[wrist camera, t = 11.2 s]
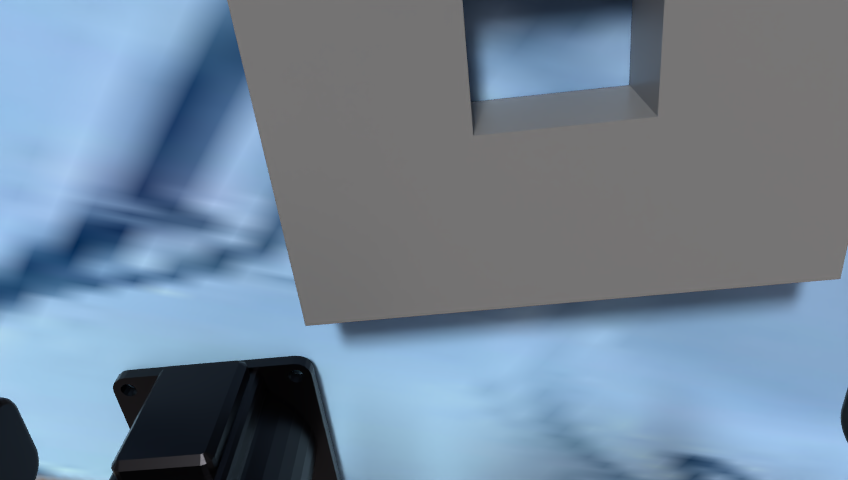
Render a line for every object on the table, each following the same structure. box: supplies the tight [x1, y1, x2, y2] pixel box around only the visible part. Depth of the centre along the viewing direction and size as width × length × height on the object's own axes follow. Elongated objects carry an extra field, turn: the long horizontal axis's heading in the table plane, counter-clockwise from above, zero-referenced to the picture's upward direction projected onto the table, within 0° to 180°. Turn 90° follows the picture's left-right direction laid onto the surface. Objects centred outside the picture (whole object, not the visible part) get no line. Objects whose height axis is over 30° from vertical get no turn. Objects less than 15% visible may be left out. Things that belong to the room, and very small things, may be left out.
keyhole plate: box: [227, 0, 848, 326], centre depth 16 cm, size 14×14×2 cm
